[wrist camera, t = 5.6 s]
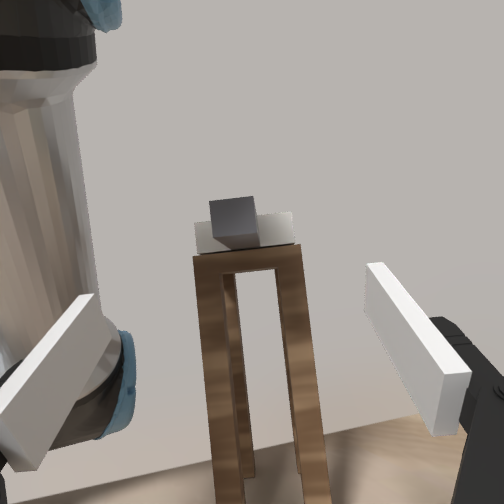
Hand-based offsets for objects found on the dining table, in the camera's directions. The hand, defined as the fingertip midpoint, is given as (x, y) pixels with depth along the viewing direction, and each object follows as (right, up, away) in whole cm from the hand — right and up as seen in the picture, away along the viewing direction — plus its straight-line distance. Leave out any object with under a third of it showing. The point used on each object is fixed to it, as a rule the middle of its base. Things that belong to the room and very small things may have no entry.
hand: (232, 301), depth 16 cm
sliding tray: (0, +3, +19) cm, 19 cm away
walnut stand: (+4, -28, +23) cm, 36 cm away
